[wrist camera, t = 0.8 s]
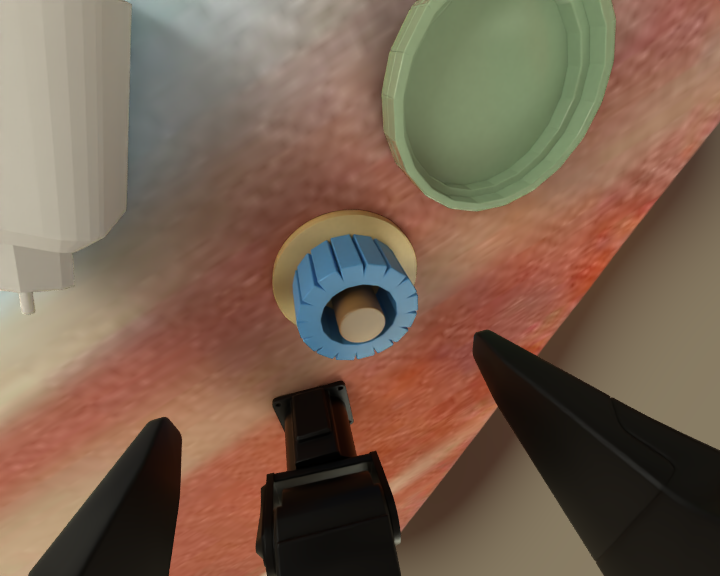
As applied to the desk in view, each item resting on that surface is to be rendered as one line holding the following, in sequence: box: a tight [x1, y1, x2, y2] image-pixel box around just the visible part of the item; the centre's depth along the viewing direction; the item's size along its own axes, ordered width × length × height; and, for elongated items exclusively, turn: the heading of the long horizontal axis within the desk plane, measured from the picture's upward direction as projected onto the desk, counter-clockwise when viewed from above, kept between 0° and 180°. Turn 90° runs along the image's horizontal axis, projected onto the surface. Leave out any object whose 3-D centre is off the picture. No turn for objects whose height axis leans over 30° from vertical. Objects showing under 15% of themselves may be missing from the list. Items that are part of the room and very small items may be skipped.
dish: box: [381, 0, 616, 211], centre depth 18 cm, size 11×11×3 cm
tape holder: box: [272, 210, 417, 343], centre depth 22 cm, size 10×10×5 cm
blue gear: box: [292, 234, 418, 360], centre depth 22 cm, size 7×7×4 cm
